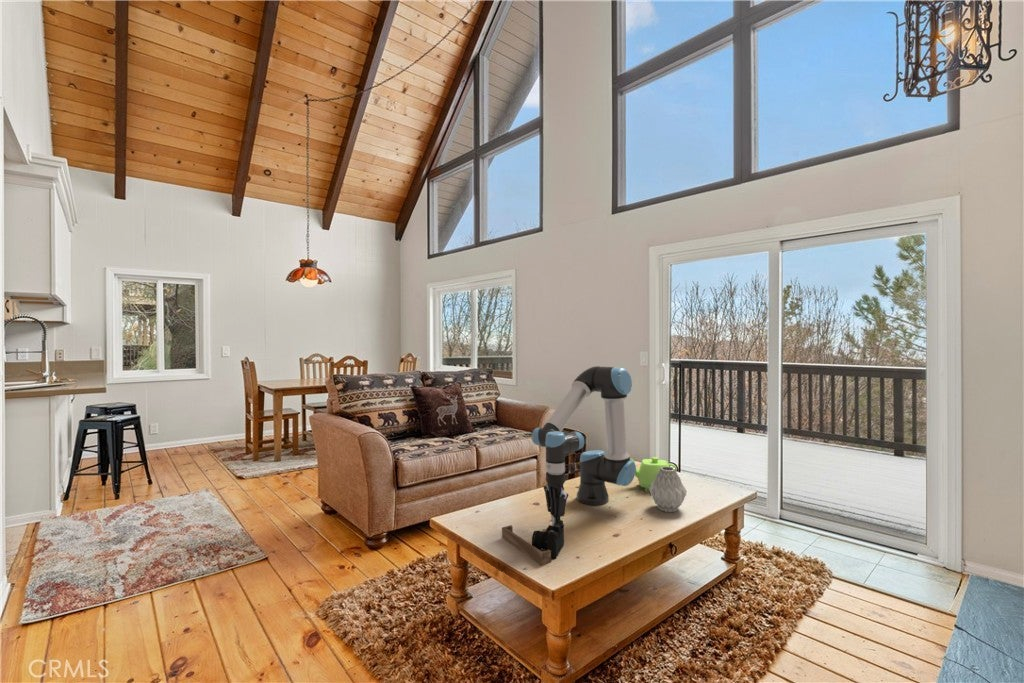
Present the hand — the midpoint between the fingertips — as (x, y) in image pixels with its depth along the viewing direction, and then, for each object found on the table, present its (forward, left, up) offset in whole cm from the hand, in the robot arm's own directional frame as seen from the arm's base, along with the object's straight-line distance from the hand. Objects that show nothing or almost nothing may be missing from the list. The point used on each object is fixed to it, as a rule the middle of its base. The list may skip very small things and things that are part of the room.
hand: (556, 531), depth 183 cm
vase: (-61, +4, -3) cm, 61 cm away
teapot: (-79, -21, -3) cm, 82 cm away
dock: (+15, 0, -3) cm, 15 cm away
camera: (+8, +5, -3) cm, 9 cm away
